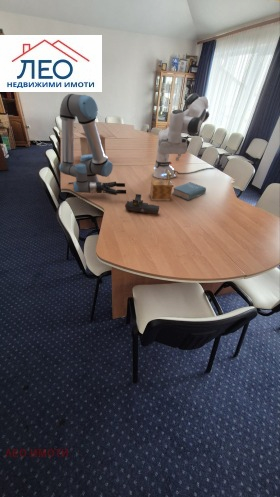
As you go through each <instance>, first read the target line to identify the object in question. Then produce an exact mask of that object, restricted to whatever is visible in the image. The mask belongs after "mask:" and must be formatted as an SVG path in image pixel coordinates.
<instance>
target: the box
mask: <svg viewBox="0 0 280 497" xmlns="http://www.w3.org/2000/svg"><path fill="white" fill-rule="evenodd" d="M98 134H99V138H100V141H101V145H102V148H103V152H104V155H106V138H113V137H114V136H113V135H111V134H109V133H108V132H105V131H98ZM74 137H77V138H79V144H80V153H81V156H83V155H88V154H92V153H91V150H90V147H89V144H88V141H87V138H86V135H85V132H84V130H77V132H76V131H74Z"/></svg>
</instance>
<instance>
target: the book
mask: <svg viewBox="0 0 280 497" xmlns="http://www.w3.org/2000/svg"><path fill="white" fill-rule="evenodd" d="M172 190H173V191H172V195H175V196H177V197H179V198H182V199H183V200H186V201H189V200H192V199H194V198H196V197H199V196H202V195H203V194H206V192H207V187H206V186H202V185H199V184H197V183H194V182H192V181H189V182H185V183H183V184H181V185H178V186H174V187H172Z"/></svg>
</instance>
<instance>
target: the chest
mask: <svg viewBox="0 0 280 497" xmlns="http://www.w3.org/2000/svg"><path fill="white" fill-rule="evenodd" d="M172 190H173V187H154V186H153V184H152V182H150V192H149V196H150V199H151V201H169V202H170V201H171V199H172V198H171V197H172V192H173V191H172Z"/></svg>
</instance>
